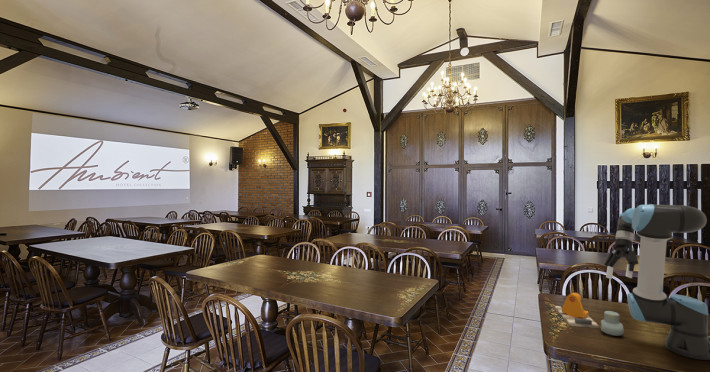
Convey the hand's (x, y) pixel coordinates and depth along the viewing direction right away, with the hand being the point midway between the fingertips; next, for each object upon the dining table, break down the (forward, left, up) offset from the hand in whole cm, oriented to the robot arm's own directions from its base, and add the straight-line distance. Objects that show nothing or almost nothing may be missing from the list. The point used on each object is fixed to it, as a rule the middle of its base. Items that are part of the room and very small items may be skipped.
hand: (618, 277), depth 181 cm
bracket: (0, +20, -22) cm, 30 cm away
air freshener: (-18, +10, -23) cm, 31 cm away
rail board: (0, +20, -23) cm, 31 cm away
